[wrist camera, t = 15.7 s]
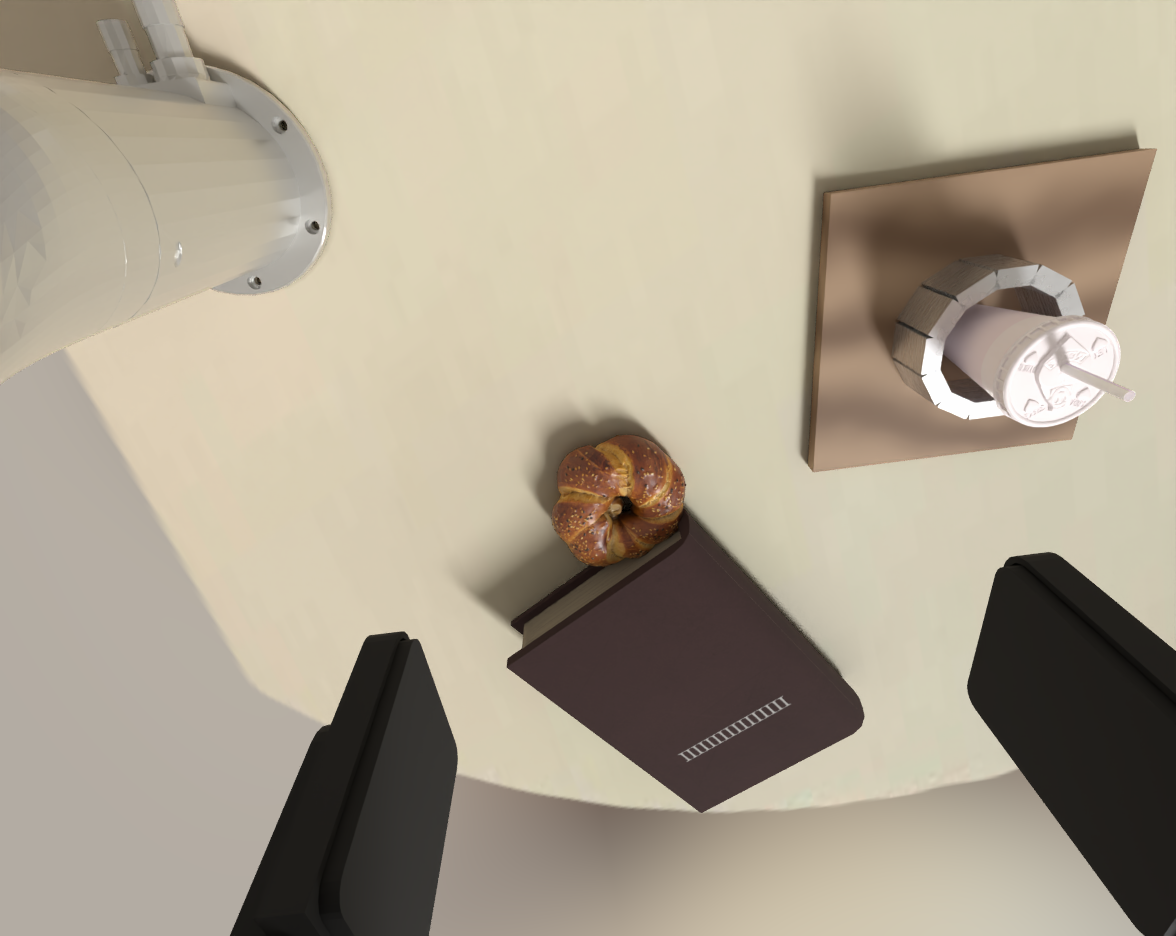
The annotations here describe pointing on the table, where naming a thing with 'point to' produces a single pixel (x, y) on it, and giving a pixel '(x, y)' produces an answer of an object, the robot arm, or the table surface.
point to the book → (685, 669)
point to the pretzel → (617, 500)
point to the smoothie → (1037, 362)
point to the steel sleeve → (944, 306)
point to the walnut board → (924, 247)
